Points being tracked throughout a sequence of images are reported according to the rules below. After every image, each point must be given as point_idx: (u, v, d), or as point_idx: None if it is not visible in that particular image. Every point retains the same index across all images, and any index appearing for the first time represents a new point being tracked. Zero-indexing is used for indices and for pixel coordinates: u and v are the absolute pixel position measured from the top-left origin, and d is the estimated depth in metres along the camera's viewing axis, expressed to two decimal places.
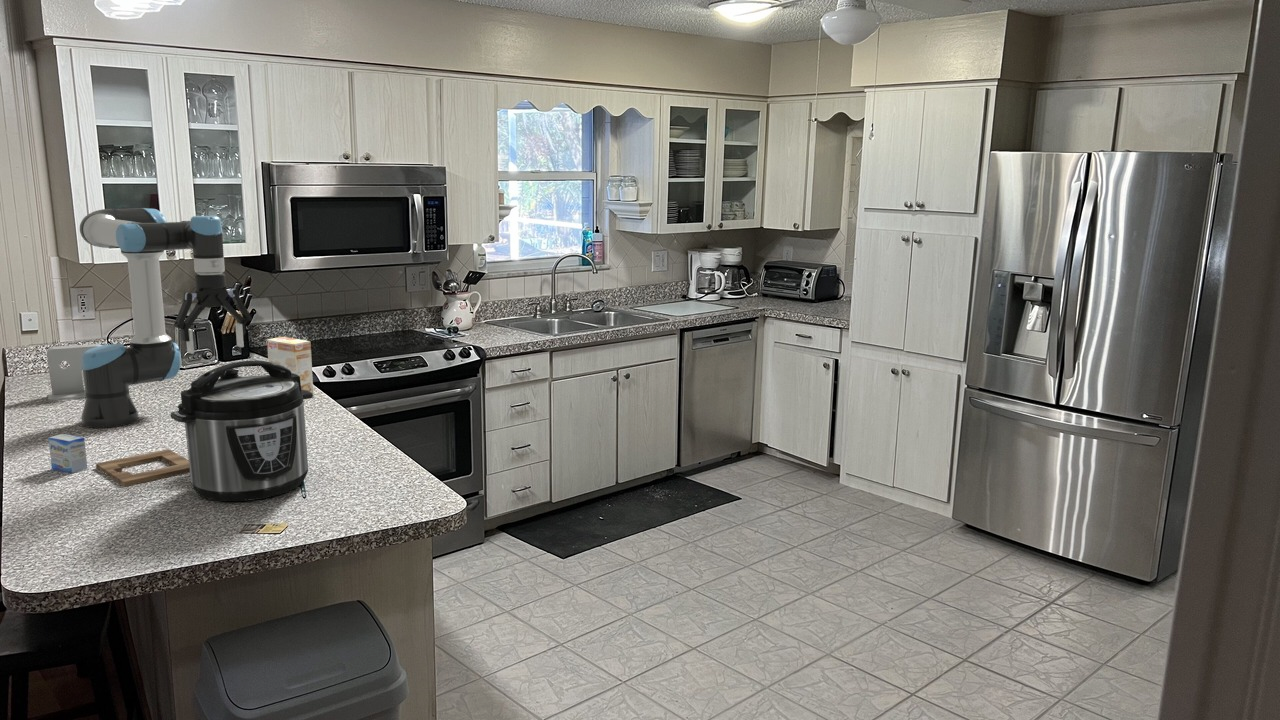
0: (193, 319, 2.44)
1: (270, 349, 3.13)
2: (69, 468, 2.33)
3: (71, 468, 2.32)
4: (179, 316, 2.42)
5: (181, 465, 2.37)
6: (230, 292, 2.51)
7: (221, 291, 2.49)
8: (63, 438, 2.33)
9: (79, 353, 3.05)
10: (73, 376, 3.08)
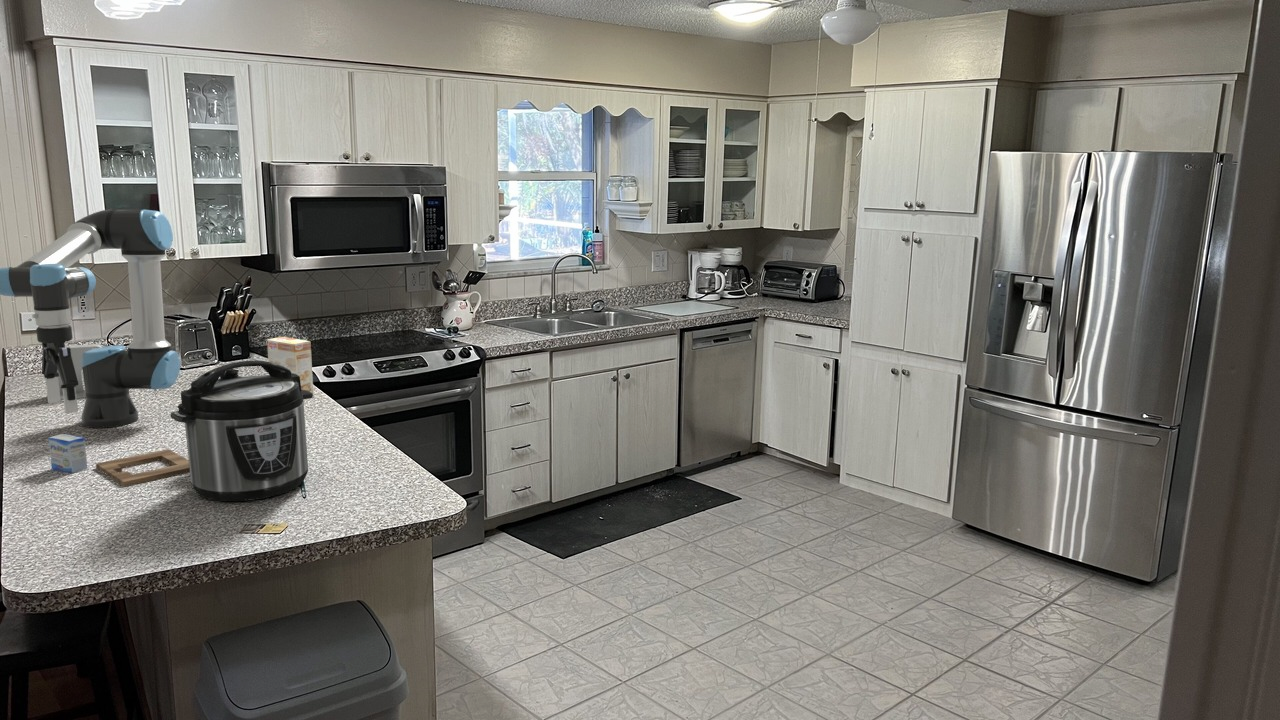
0: (46, 369, 2.34)
1: (270, 349, 3.13)
2: (69, 468, 2.33)
3: (71, 468, 2.32)
4: None
5: (181, 465, 2.37)
6: None
7: (53, 347, 2.27)
8: (63, 438, 2.33)
9: (78, 353, 3.05)
10: None
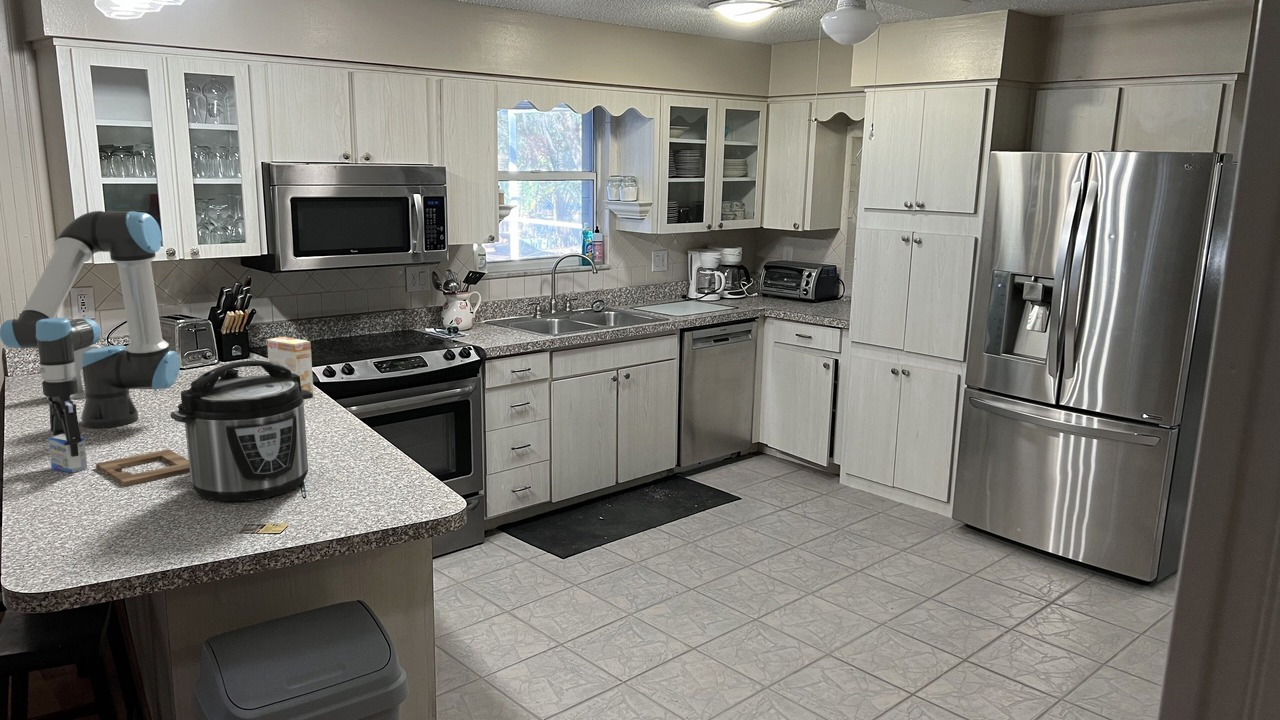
0: (54, 425, 2.36)
1: (270, 349, 3.13)
2: None
3: None
4: None
5: (181, 465, 2.37)
6: None
7: (59, 400, 2.30)
8: (63, 438, 2.33)
9: (77, 353, 3.04)
10: None
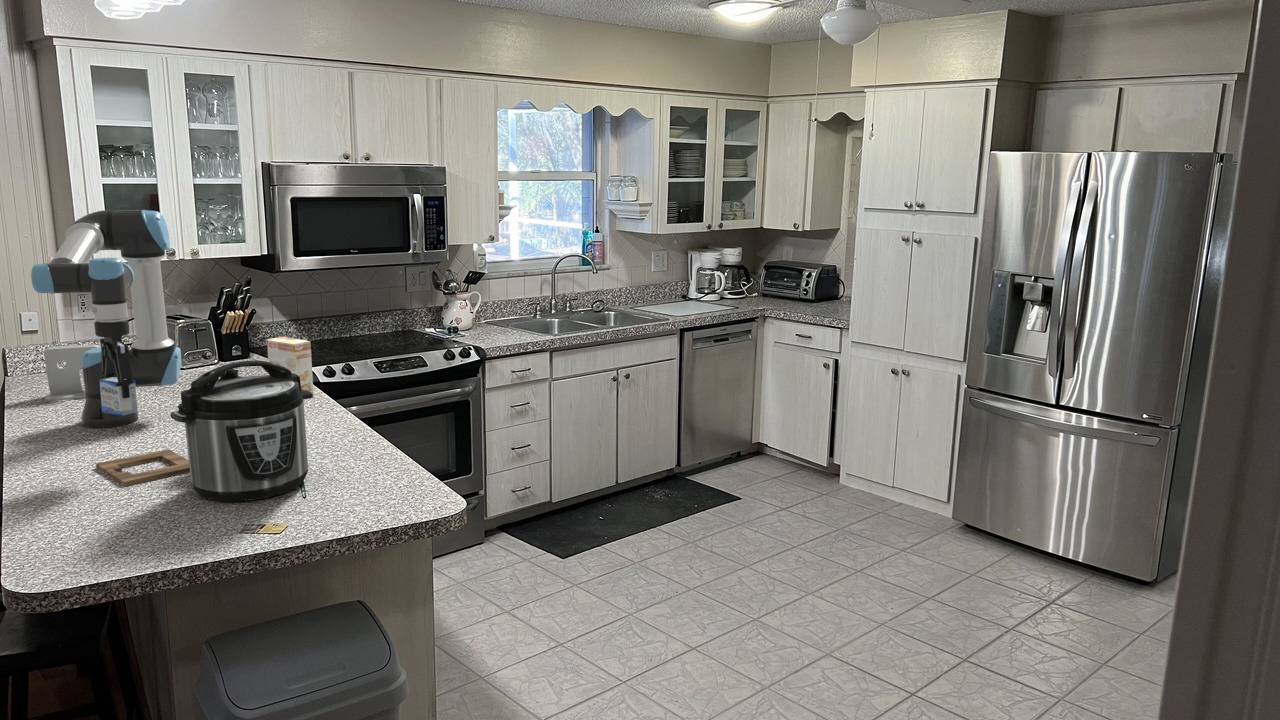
0: (105, 368, 2.33)
1: (270, 349, 3.13)
2: (120, 411, 2.30)
3: None
4: None
5: (181, 465, 2.37)
6: None
7: (111, 340, 2.27)
8: (114, 380, 2.30)
9: (76, 353, 3.04)
10: (70, 376, 3.07)
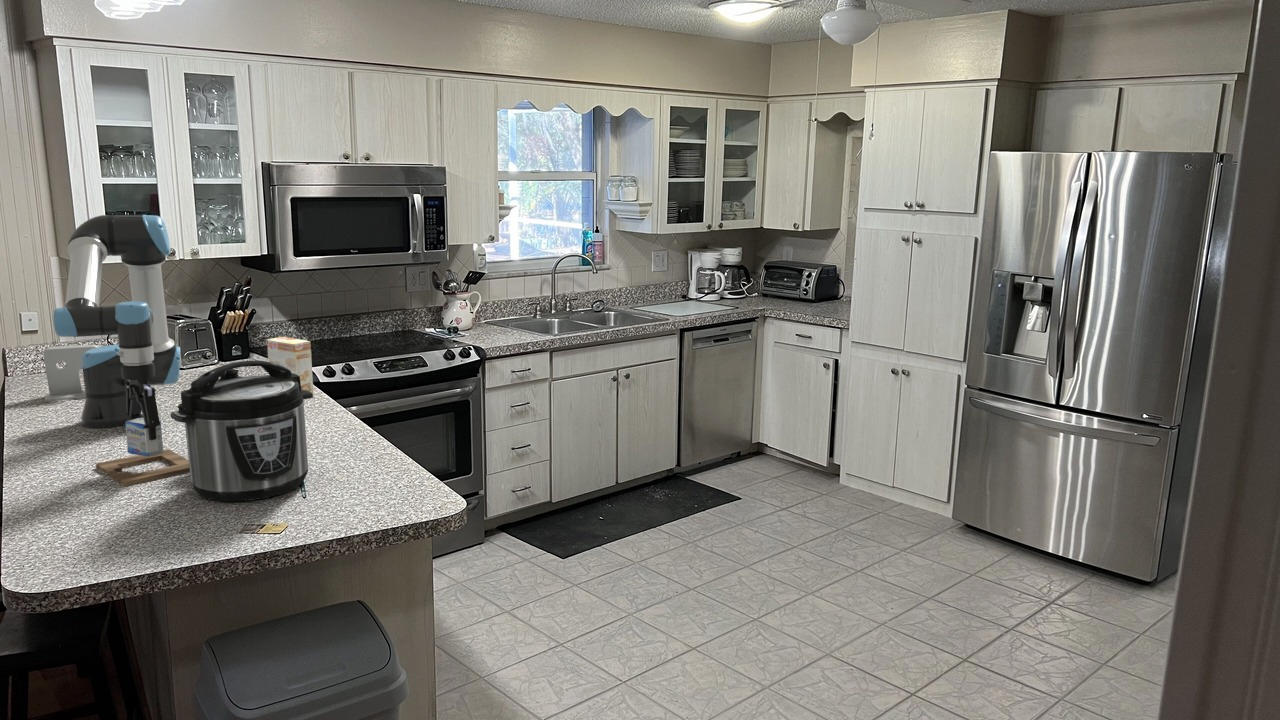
0: (130, 409, 2.36)
1: (270, 349, 3.13)
2: (146, 452, 2.33)
3: None
4: None
5: (181, 465, 2.37)
6: None
7: (138, 383, 2.30)
8: (140, 422, 2.33)
9: (75, 353, 3.04)
10: (70, 376, 3.07)
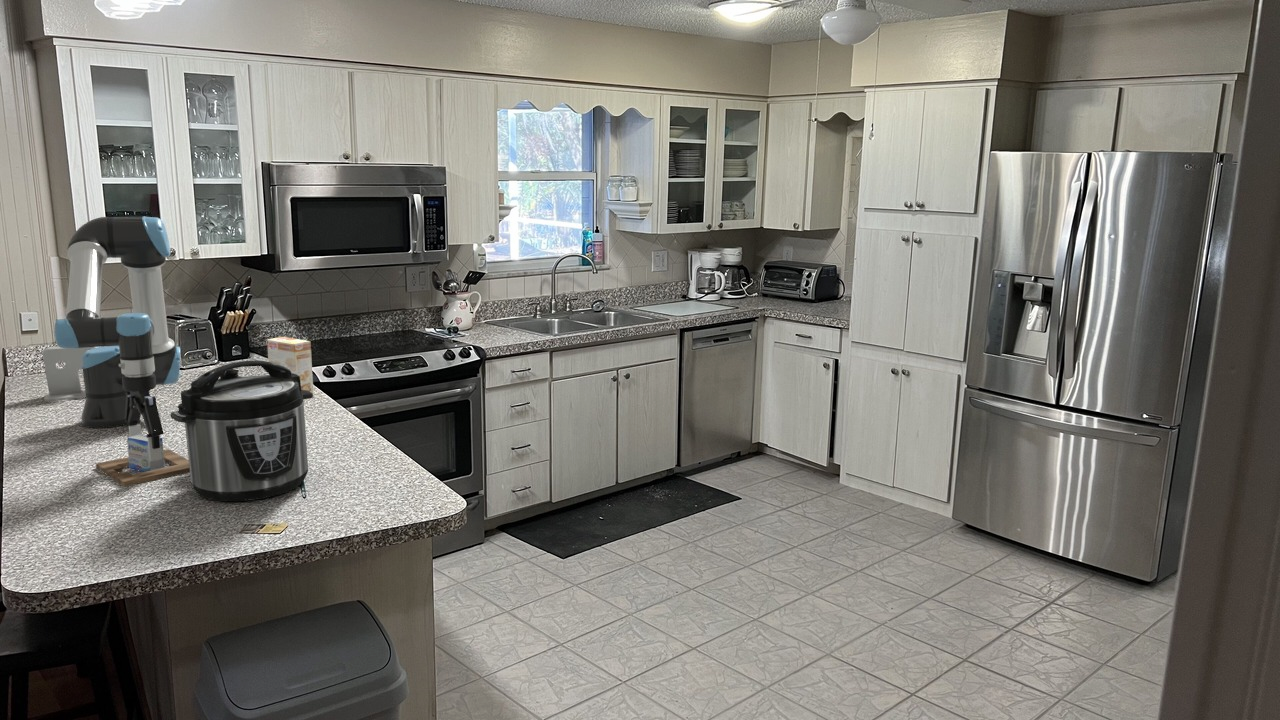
0: (129, 416, 2.37)
1: (270, 349, 3.13)
2: (148, 468, 2.34)
3: (150, 468, 2.33)
4: None
5: (181, 465, 2.37)
6: None
7: (139, 395, 2.31)
8: (142, 438, 2.34)
9: (75, 353, 3.04)
10: (69, 376, 3.07)
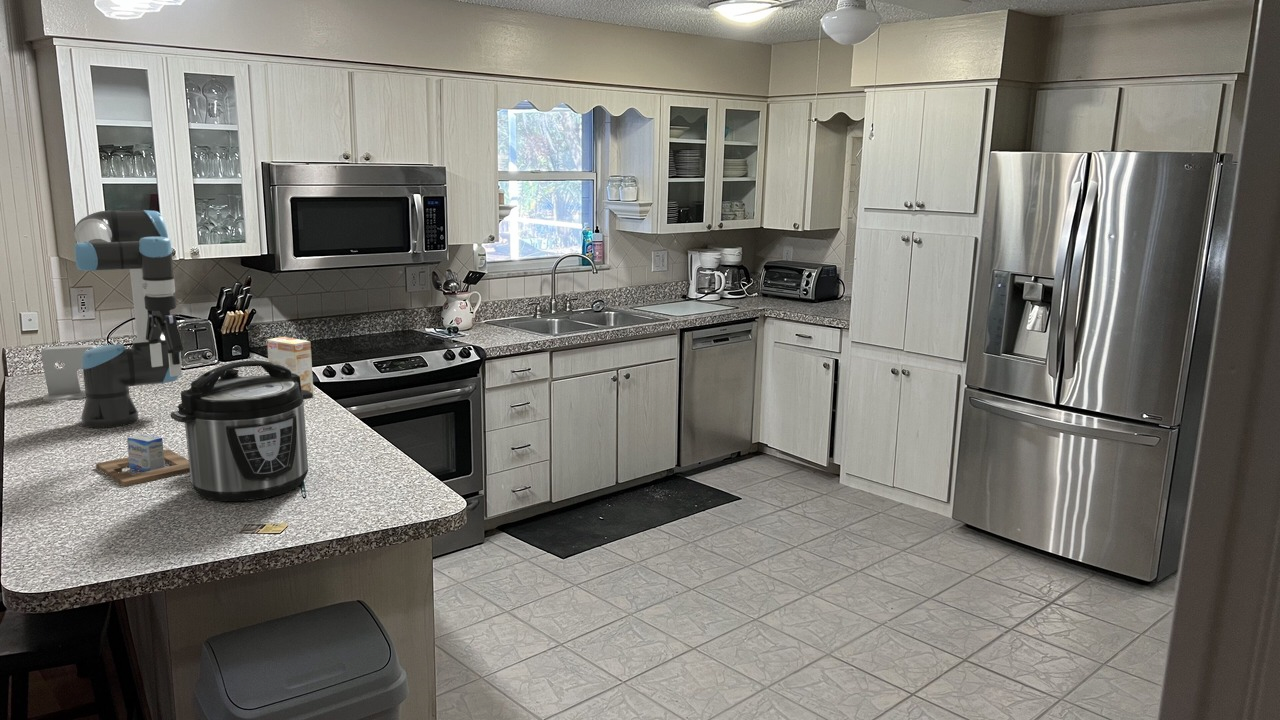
0: (151, 335, 2.50)
1: (270, 349, 3.13)
2: (148, 468, 2.34)
3: (150, 468, 2.33)
4: None
5: (181, 465, 2.37)
6: None
7: (160, 314, 2.43)
8: (142, 438, 2.34)
9: (73, 354, 3.04)
10: (68, 376, 3.07)
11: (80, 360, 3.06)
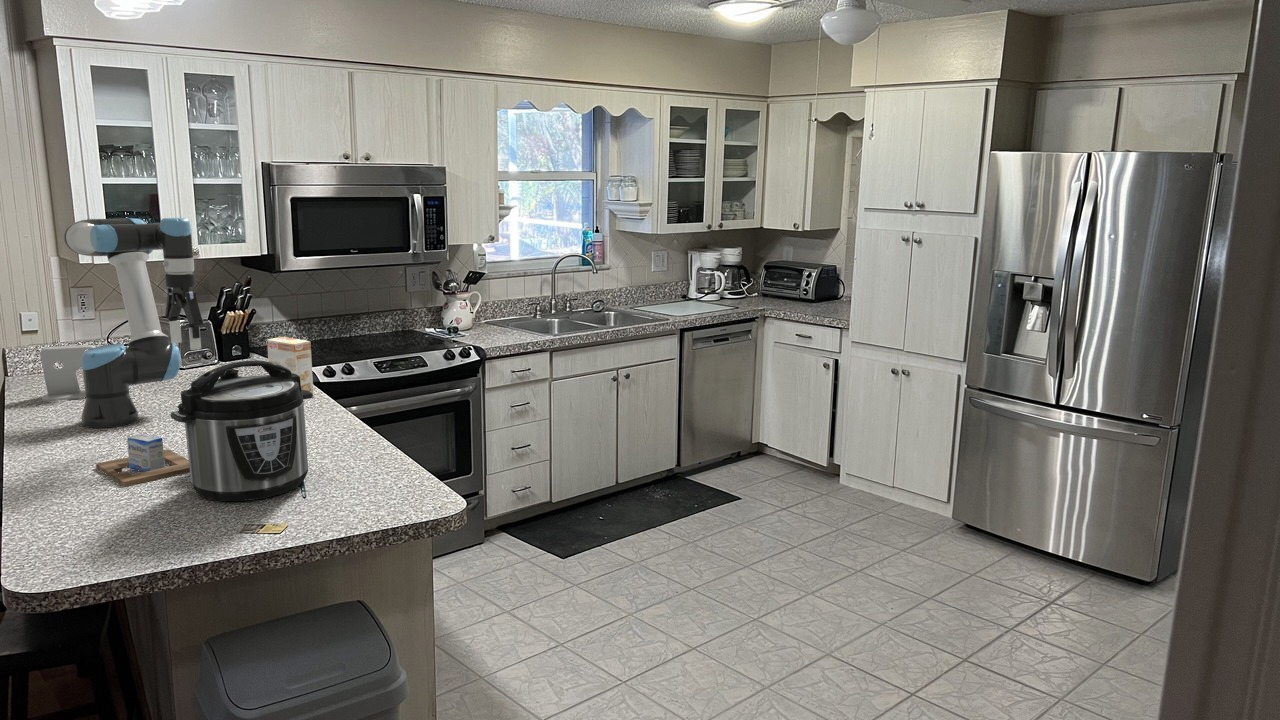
0: (170, 312, 2.63)
1: (270, 349, 3.13)
2: (148, 468, 2.34)
3: (150, 468, 2.33)
4: None
5: (181, 465, 2.37)
6: None
7: (180, 291, 2.56)
8: (142, 438, 2.34)
9: (72, 354, 3.04)
10: (67, 377, 3.07)
11: (79, 360, 3.06)
